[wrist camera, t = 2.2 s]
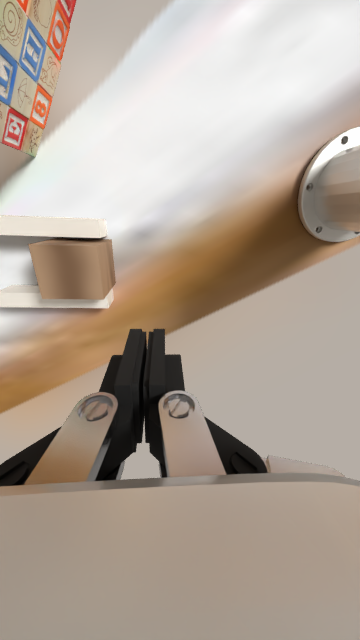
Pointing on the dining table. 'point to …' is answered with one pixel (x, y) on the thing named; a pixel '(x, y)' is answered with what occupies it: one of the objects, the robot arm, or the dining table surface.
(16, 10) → the stack of blocks
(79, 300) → the chute rail
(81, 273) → the walnut block
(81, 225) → the chute rail
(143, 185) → the dining table surface
